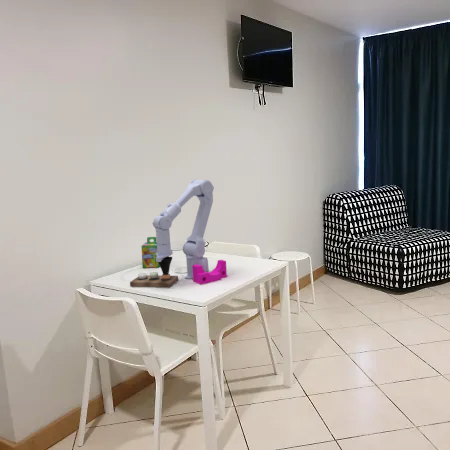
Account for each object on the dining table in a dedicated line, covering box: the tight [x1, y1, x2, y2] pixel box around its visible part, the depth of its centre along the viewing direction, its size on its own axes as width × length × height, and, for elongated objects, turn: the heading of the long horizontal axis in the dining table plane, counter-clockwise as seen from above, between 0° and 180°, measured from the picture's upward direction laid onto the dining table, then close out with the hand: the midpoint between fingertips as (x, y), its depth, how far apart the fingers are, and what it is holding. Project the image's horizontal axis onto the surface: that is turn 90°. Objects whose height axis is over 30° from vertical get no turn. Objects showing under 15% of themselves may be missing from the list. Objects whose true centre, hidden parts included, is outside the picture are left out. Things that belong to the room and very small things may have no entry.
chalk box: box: [140, 236, 161, 269], centre depth 224 cm, size 9×9×15 cm
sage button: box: [149, 271, 159, 278], centre depth 193 cm, size 4×4×2 cm
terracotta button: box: [161, 273, 171, 280], centre depth 192 cm, size 4×4×2 cm
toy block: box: [192, 259, 228, 285], centre depth 194 cm, size 15×6×8 cm, turn 122°
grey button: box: [137, 272, 147, 279], centre depth 194 cm, size 4×4×2 cm
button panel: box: [129, 274, 179, 288], centre depth 193 cm, size 18×11×2 cm, turn 77°
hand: (165, 274), depth 192 cm, fingers closed
